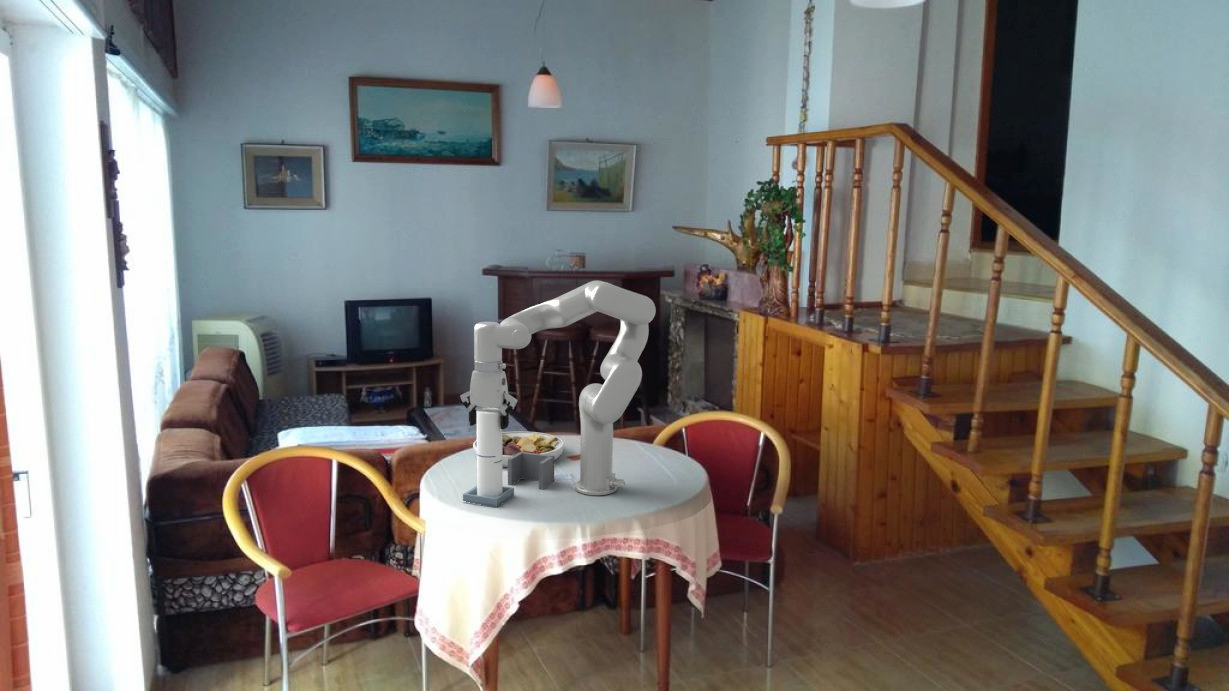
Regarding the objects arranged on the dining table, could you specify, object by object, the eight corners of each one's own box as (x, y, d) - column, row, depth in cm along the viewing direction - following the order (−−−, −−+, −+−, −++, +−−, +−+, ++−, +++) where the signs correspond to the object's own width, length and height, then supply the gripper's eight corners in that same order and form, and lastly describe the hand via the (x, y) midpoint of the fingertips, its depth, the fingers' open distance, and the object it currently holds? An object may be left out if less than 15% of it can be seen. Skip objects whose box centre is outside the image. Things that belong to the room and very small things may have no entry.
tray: (514, 495, 241) (514, 487, 241) (496, 507, 231) (496, 499, 231) (481, 490, 245) (481, 483, 244) (463, 502, 235) (462, 494, 234)
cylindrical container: (474, 493, 240) (474, 408, 236) (499, 491, 243) (499, 406, 239) (479, 501, 233) (479, 414, 229) (505, 499, 236) (504, 412, 232)
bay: (554, 481, 255) (554, 455, 253) (542, 489, 247) (542, 463, 246) (520, 476, 258) (520, 451, 257) (507, 484, 251) (507, 459, 249)
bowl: (482, 443, 295) (482, 422, 294) (567, 446, 294) (567, 424, 293) (464, 469, 265) (464, 445, 264) (559, 472, 264) (559, 448, 263)
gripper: (522, 366, 233) (522, 426, 235) (467, 362, 238) (468, 420, 241) (510, 371, 226) (510, 432, 228) (453, 366, 231) (454, 426, 234)
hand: (488, 426), depth 235 cm, fingers open, 9 cm apart
